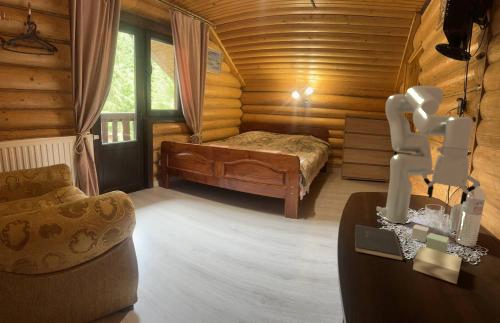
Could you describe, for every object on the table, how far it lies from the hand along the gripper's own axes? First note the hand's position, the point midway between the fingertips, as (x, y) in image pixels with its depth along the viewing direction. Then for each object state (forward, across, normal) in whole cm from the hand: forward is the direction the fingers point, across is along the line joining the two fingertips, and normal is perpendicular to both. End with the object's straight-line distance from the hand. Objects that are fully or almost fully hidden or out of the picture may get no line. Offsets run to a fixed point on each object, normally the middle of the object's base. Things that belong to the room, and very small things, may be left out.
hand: (445, 200), depth 109 cm
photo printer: (+20, +5, +34) cm, 40 cm away
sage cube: (+20, 0, 0) cm, 20 cm away
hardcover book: (+21, -19, -7) cm, 30 cm away
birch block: (+20, +2, -14) cm, 25 cm away
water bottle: (+20, +8, +18) cm, 28 cm away
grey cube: (+20, -7, +9) cm, 23 cm away
